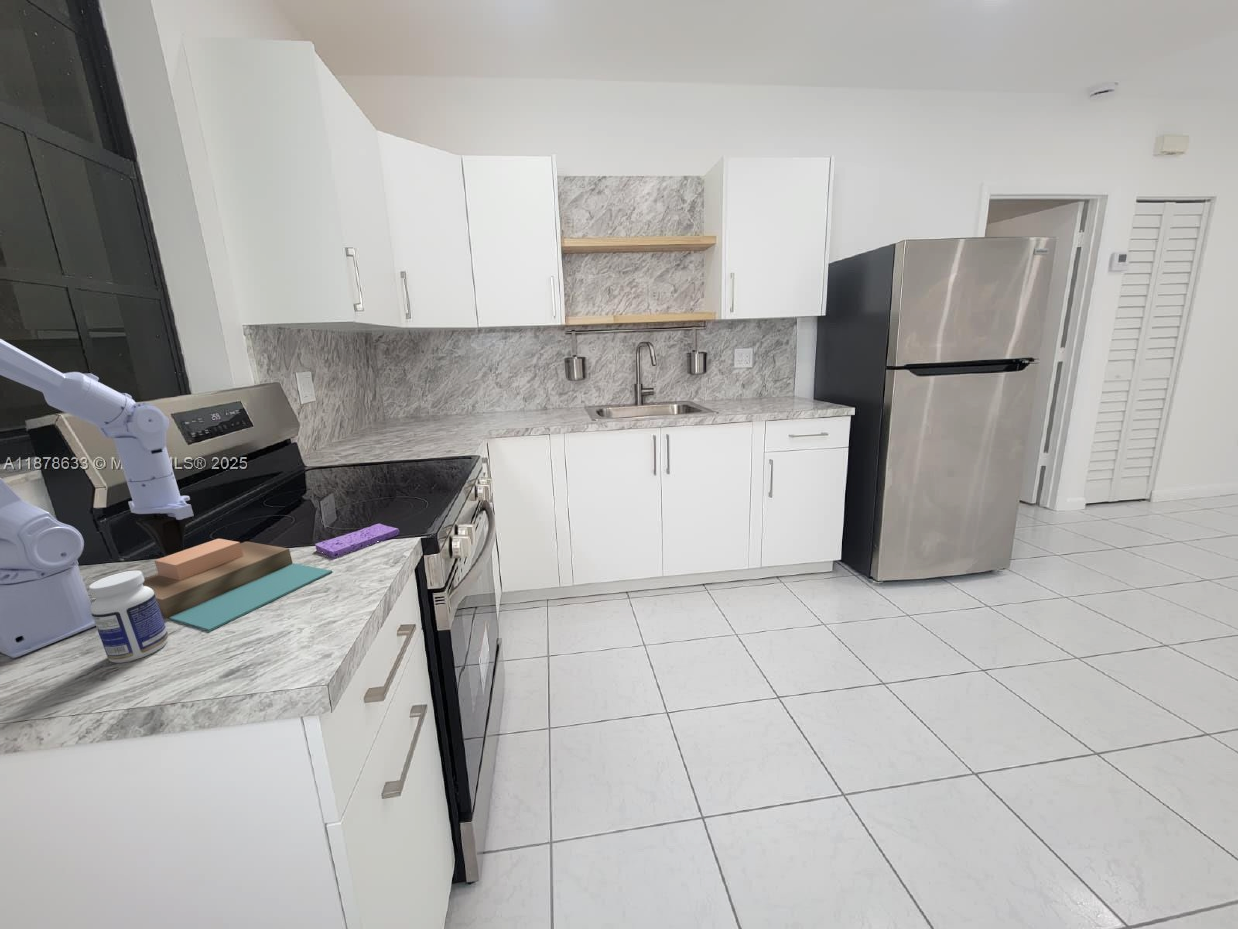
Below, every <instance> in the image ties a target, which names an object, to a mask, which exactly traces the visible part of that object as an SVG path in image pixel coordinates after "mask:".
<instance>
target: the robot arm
mask: <svg viewBox="0 0 1238 929" xmlns="http://www.w3.org/2000/svg"><path fill="white" fill-rule="evenodd" d="M0 376H2V377H4V378H7V379H9V380H12V381H13V382H15V383H16V382H17V383H19V384H21V385H24V386H27V387H29V388H31V389H33V390H37V391H39V392H41V393H42V394H43V397H44V400H45V402H46V403H47V405H48V406H50V407H52V408H55V409H56V410H59V411H61V412H63V413H65V414H68V415H71V416H73V417H75V418H77V419H79V420H82V421H84V422H86V423H89V424H91V425H94V426H95V427H97V430H98V431H99V432H100V434H102V436H104V437H105V438H109V439H112V440H113V443H114V447H115V450H116V453H117V456H118V459H119V462H120V464H121V465H120V466H121V469H122V471H123V476H124V477H125V481H126V484H127V487H128V490H129V493H130V498H131V499H132V500H130V501H128V506H129V510H130V512H131V513H133V514H135V515H136V514H137V515H145V517H141V518H139V519H137V520H135V524H136V525H137V526H139V527H140V528H141V529H142V530H143V531H145V532H146V533H147V535H148V536H149V537H150V538H151V539H152V541H153V542H154V543H155V545H156V546H157V548H158V550H159V551H160V552H161V554H162V555H163V556H164V557H166V556H169V555H172V554H174V553H177V552H180V551H183V550H185V549H184V548H185V546H184V545H185V543H184V542H185V530H186V526H187V523H188V520H189V519H190V517H194V511H193V509H192V505H191V504H189V503H187V502H188V501H190V500H191V497H190V496H189V495H181V494H180V490H179V486H178V484H177V480H176V476H175V474H174V469H173V466H172V463H171V459H170V456H169V453H168V452H169V451H168V448H167V444H168V440H167V432H168V430H169V427H170V418H169V417H168V416H166V415H165V414H164V413H163V411H161V409H159V407H157V406H156V405H155V404H152V403H148V402H136V401H135V399H133V397H132V395H130V394H128V393H126V392H119V391H117V390H115V389H113V388H112V387H109V386H108V385H105V384H103V383H102V382H100V381H99V380H100V378H99V377H98V376H97V375H94V374H93V373H92V372H91V373H82V372H79V371H70V372H65V373H64V372H61V371H59V370H57V369H55V368H53V367H52V366H50V365H48V364H46V363H45V362H43V361H41V360H39V359H38V358H36V357H34V356H32V355H30V354H28V353H27V352H25V351H23V350H21V349H19V348H17V347H16V346H14V345H13V344H10V343H9V342H7V341H5V340H4V339H2V338H0ZM84 547H85V540H84V538H83V535H82V533H81V532H80V531H79V530H78V529H77V528H75V527H74V526H72V525H70V524H67V523H63V522H61V521H59V520H57V519H56V518H55V517H54V516H53V515H52V514H51V513H50V512H49V511H46V510H44V509H42V508H40V507H38V506H36V505H33V504H32V503H29V502H27V501H25V500H23V499H22V498H21V497H20V496H19V495H18V494H17V493H16V492H15V491H14V490H13V489H12V488H11V486H9V484H8V483H7V482H5V481H4V479H2V478H1V477H0V653H1V654H4V655H6V656H8V657H10V658H13V659H15V658H18V657H22V656H23V655H26V654H29V653H31V652H33V651H36V650H38V649H40V648H43V647H46V646H48V645H51V644H53V643H56V642H58V641H61V640H63V639H66V638H68V637H70V636H74V635H76V634H78V633H80V632H81V633H82V632H84V631H86V630H88V629H91V628H93V627H96V625H95V622H94V619H93V617H92V614H91V606H92V604H93V603H92V600H91V598H90V596H89V593H88V590H87V588H86V584H85V581H84V579H83V576H82V572H81V569H80V568H79V562H78V560H79V558H80V557H81V555H82V554H83V551H84Z"/></svg>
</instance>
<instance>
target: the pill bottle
mask: <svg viewBox="0 0 1238 929" xmlns="http://www.w3.org/2000/svg"><path fill="white" fill-rule="evenodd" d="M144 578H145V577H144V574H143V572H142V571H141V570H128V571H122V572H117V573H114V574H112V575H111V574H110V575H108V576H105V577H103V578H100V579H98V580H96V581H94V582H92V583H91V584H90V585H89V586H88V589H89V592H90V595H91V597H92V598H95V599H96V600H94V602H93V603H91V604H92V606H91V614H92V617H93V619H94V622H95V625H96V626H95V627H96V630H97V632H98V636H99V638H100V641H101V642H102V646H103V649H104V651H105V654H106V656H107V659H108V660H109V661H110V662H112V663H116V664H121V663H122V664H123V663H128V662H133V661H136V660H139V659H142V658H144V657H145V658H146V657H147V656H149V655H151V654H153V653H155V652H157V651H158V650H161V649H162V648H163V647H164V646H166V645H167V643H168V642H169V641H170V640H169V639H170V635H169V633H168V630H167V627H166V623H165V621H164V619H163V618H164V617H162V614H161V612H160V609H159V606H158V602H157V599H156V596H155V593H154V591H153V590H152V589H151V588H149V587H147V586H143V582H144V580H145V579H144Z"/></svg>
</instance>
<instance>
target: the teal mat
mask: <svg viewBox="0 0 1238 929" xmlns="http://www.w3.org/2000/svg"><path fill="white" fill-rule="evenodd" d="M292 563H293V562H292ZM331 573H333V570H332V569H331V570H329V569H326V568H325V569H324V568H320V567H315V566H309V565H305V564H299V563H293V564H291V565H289V566H287V567H284V568H282V569H280V570H277V571H275V572H273V573H270V574H268V575H266V576H263V577H261V578H259V579H257V580H254V581H252V582H250V583H247V584H245V585H243V586H240V587H238V588H236V589H233V590H231V591H229V592H226V593H224V594H222V595H220V596H217V597H215V598H213V599H210V600H208V601H206V602H203V603H201V604H199V605H196V606H194V607H192V608H190V609H187V610H185V611H183V612H180V613H178V614H176V615H173V616H171V617H169V619H168V620H171V621H174V622H178V623H181V624H184V625H186V626H187V625H188V626H190V627H194V628H198V629H199V630H200V629H201V630H204V631H207V632H212V631H213V630H216V629H218V628H220V627H222V626H223V625H226V624H228V623H231V622H232V621H235V620H236V619H239V618H240V617H243V616H244V615H247V614H249V613H251V612H253V611H255V610H258V609H260V608H261V607H263V606H266V605H268V604H269V603H272V602H274V601H276V600H278V599H281V597H284V596H286V595H288V594H290V593H292V592H294V591H297V590H298V589H302V588H303V587H304V586H305V587H306V586H307V585H309V584H311V583H313V582H315V581H317V580H320V579H321V578H323V577H325V576H327V575H330V574H331Z"/></svg>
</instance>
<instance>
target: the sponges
mask: <svg viewBox="0 0 1238 929" xmlns="http://www.w3.org/2000/svg"><path fill="white" fill-rule="evenodd" d="M399 534H400V530H399V528H397V527H392V526H388V525H384V524H382V523H376V524H373V525H371V526H367V527H364V528H362V529H360V530H357V531H353V532H349V533H346V534H344V535H340V536H337V537H335V538H331V539H327V540H323V541H321V542H317V543H315V544H314V546H315V550H316V552H318V551H320V552H323V553H324V554H323V553H322V554H323V555H325V554H326V556H328V555H329V556H328V557H330V556H331V558H333V559H336V558H338V556H339V557H341V556H340V555H342V556H344V555H347V554H349V552H350V553H352V552H355V551H358V550H361V549H363V547H364V548H366V547H368V546H367V545H369V546H371V545H370V544H372V545H374V543H375V544H377V543H378V542H377V541H380V542H382V541H385V540H388V539H390V538H394V537H396V536H398V535H399ZM376 542H377V543H376ZM365 546H366V547H365ZM360 548H361V549H360ZM357 549H358V550H357ZM351 551H352V552H351ZM320 552H319V553H320ZM346 553H347V554H346Z"/></svg>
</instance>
